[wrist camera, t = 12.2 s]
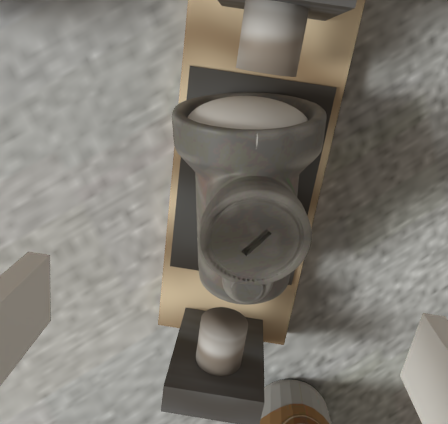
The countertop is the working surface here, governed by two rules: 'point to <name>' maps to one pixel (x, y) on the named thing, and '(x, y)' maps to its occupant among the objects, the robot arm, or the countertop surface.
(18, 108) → the countertop surface
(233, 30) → the shaft bed
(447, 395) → the robot arm
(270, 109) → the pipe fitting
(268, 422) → the coffee cup
